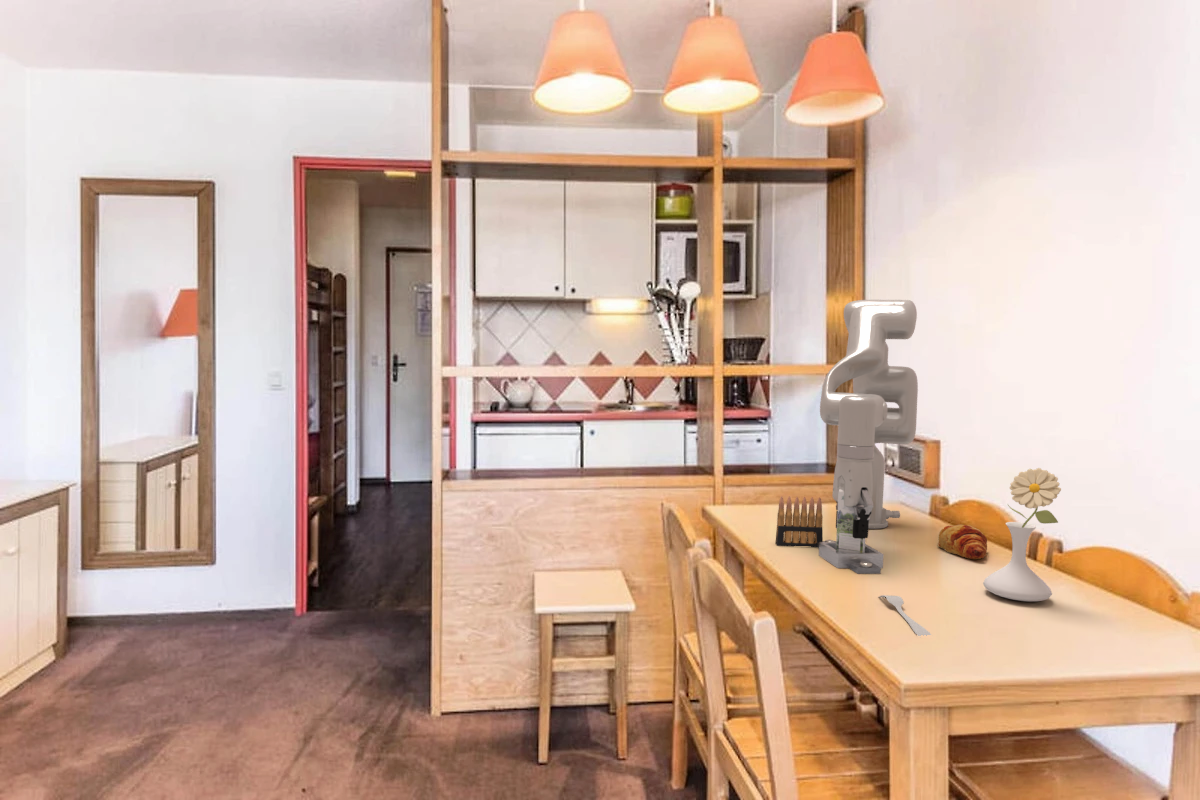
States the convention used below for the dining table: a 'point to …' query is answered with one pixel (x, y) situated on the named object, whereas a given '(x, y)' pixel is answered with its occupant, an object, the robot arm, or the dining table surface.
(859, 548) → the syrup box
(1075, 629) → the dining table surface
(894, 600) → the fork
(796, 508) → the ammunition clip
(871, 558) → the bolted metal bracket
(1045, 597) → the flower in vase
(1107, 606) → the dining table surface
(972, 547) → the croissant
